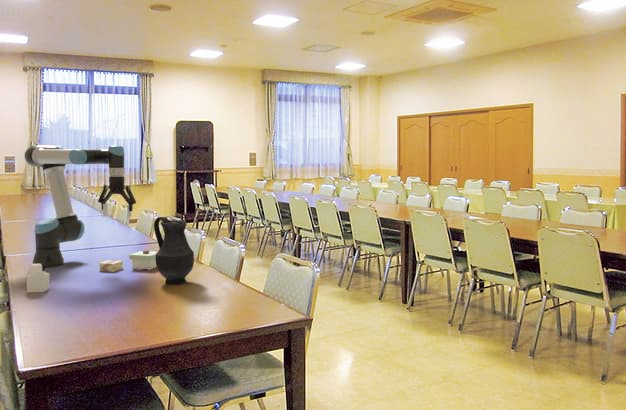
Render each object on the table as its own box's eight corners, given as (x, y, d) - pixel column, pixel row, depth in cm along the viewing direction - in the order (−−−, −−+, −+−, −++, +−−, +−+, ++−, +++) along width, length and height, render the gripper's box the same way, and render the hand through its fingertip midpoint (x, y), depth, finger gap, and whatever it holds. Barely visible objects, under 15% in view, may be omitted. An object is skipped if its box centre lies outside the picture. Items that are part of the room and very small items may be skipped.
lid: (129, 259, 297) (129, 252, 296) (142, 255, 308) (141, 248, 308) (150, 260, 293) (150, 253, 293) (162, 256, 305) (162, 249, 305)
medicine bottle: (33, 288, 254) (32, 261, 253) (50, 288, 255) (48, 261, 254) (26, 292, 247) (25, 265, 246) (43, 292, 248) (42, 264, 247)
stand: (99, 270, 292) (99, 263, 292) (109, 267, 300) (108, 260, 300) (113, 271, 290) (113, 263, 290) (122, 268, 298) (122, 261, 298)
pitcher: (175, 288, 256) (173, 220, 253) (142, 282, 267) (140, 217, 264) (202, 281, 270) (201, 217, 267) (170, 276, 281) (169, 214, 278)
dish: (132, 268, 298) (132, 259, 297) (142, 265, 307) (142, 255, 307) (149, 270, 295) (149, 260, 295) (159, 266, 305) (159, 256, 304)
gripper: (90, 175, 298) (91, 216, 300) (135, 177, 293) (135, 218, 295) (98, 174, 305) (99, 215, 307) (142, 176, 300) (142, 217, 302)
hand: (117, 216), depth 301 cm, fingers open, 13 cm apart
